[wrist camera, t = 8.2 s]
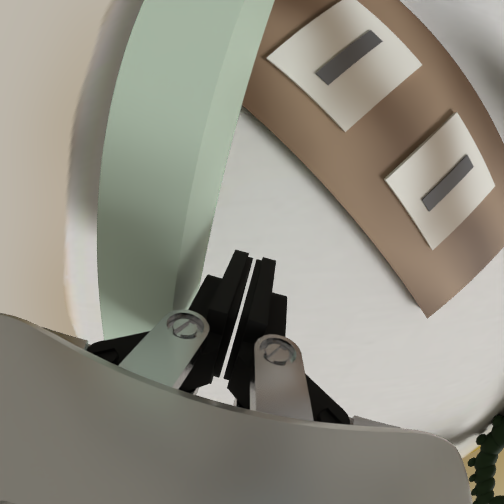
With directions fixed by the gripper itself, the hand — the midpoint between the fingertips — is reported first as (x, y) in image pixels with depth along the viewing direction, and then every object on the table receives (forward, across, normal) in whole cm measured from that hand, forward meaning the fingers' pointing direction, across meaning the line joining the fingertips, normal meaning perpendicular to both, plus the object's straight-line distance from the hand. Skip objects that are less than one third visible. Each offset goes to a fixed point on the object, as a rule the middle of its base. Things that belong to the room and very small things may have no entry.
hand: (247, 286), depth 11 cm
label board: (+5, -5, -9) cm, 11 cm away
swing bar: (+1, +4, -6) cm, 7 cm away
